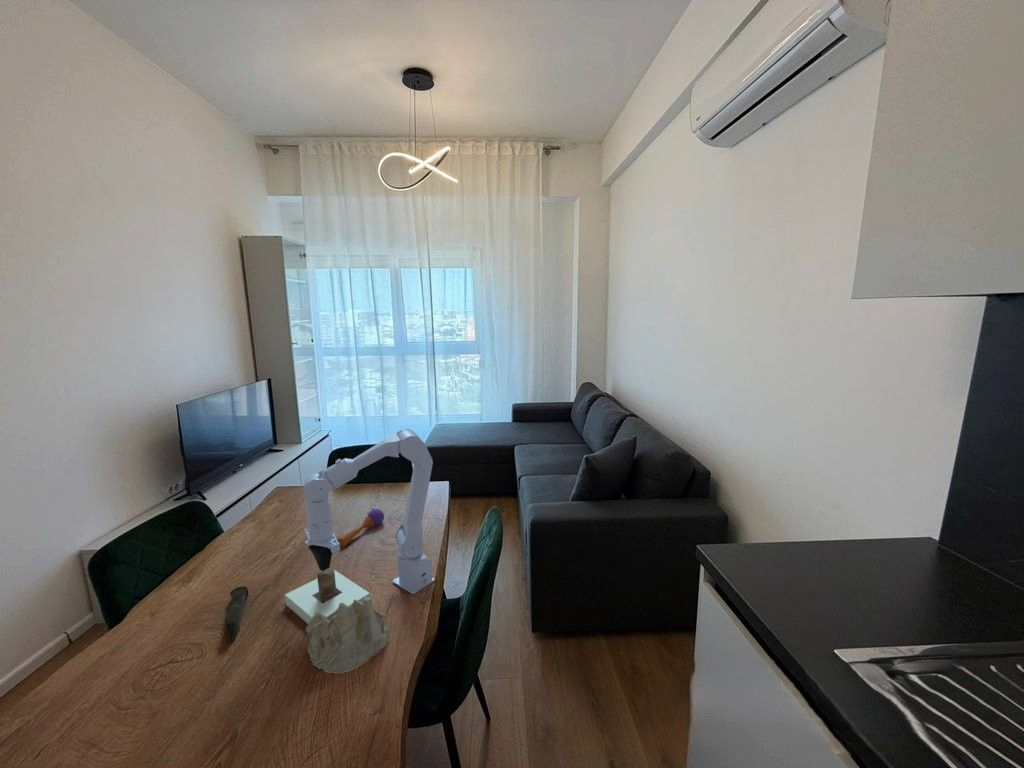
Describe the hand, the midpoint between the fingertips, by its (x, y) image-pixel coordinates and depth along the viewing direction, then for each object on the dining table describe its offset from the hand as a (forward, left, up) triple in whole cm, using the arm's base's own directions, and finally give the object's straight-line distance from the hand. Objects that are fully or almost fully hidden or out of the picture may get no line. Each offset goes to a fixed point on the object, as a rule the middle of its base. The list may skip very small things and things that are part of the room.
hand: (324, 568), depth 112 cm
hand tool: (+13, +17, -11) cm, 24 cm away
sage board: (0, 0, -10) cm, 10 cm away
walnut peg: (0, 0, -10) cm, 10 cm away
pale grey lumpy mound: (-18, +5, -11) cm, 21 cm away
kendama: (+27, -28, -11) cm, 40 cm away
